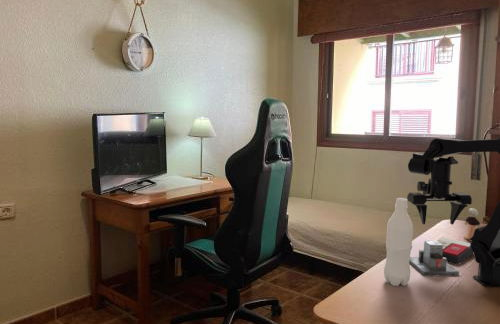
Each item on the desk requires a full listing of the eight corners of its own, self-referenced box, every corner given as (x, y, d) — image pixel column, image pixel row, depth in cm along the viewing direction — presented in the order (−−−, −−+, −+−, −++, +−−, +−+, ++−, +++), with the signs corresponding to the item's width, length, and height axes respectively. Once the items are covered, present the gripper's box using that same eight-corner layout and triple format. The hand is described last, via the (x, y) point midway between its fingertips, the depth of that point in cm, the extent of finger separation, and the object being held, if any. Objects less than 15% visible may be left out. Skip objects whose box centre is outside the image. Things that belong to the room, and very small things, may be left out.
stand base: (458, 275, 126) (460, 258, 125) (423, 275, 125) (424, 258, 124) (438, 260, 138) (440, 245, 137) (406, 260, 137) (407, 245, 136)
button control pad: (424, 246, 141) (442, 235, 152) (424, 258, 142) (441, 246, 152) (458, 255, 134) (474, 242, 144) (457, 267, 134) (473, 254, 144)
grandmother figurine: (458, 237, 162) (461, 206, 160) (465, 236, 164) (467, 205, 162) (476, 243, 155) (479, 211, 153) (483, 242, 157) (486, 210, 155)
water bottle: (411, 289, 115) (417, 202, 112) (384, 286, 117) (390, 201, 113) (407, 279, 122) (412, 196, 119) (382, 276, 124) (386, 195, 120)
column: (441, 266, 129) (443, 245, 128) (429, 266, 129) (431, 245, 128) (434, 261, 133) (436, 240, 132) (422, 261, 133) (424, 240, 132)
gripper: (456, 173, 140) (453, 217, 142) (402, 173, 140) (399, 217, 142) (474, 178, 129) (471, 226, 131) (415, 178, 129) (412, 226, 131)
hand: (437, 224), depth 134 cm, fingers open, 9 cm apart
